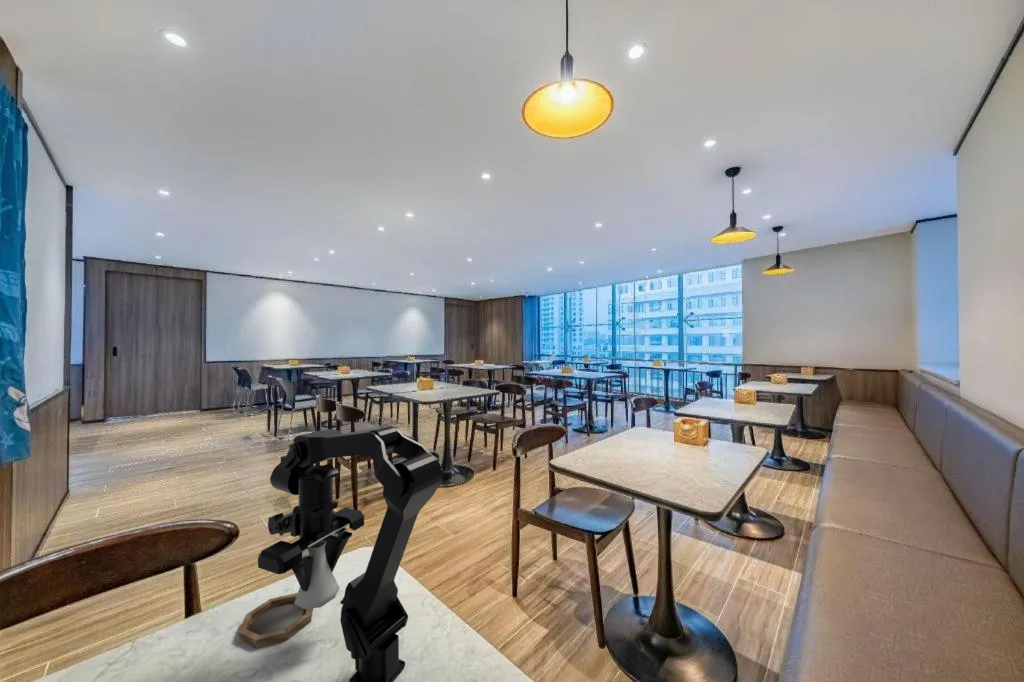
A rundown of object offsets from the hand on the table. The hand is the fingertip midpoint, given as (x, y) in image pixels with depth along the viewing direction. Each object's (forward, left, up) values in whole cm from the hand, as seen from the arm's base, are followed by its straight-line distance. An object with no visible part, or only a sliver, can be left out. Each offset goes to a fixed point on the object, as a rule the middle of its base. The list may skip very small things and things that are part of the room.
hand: (317, 582), depth 72 cm
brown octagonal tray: (+11, 0, -10) cm, 15 cm away
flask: (0, 0, -3) cm, 3 cm away
